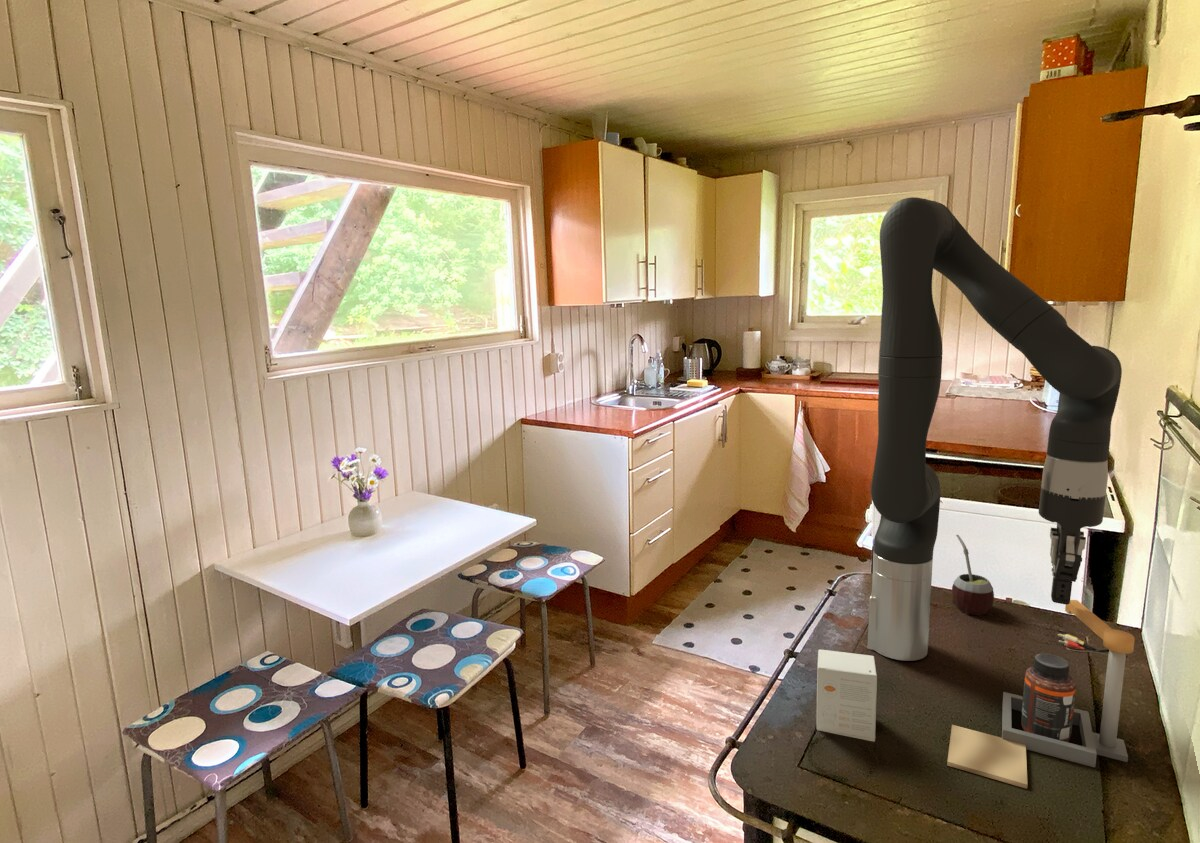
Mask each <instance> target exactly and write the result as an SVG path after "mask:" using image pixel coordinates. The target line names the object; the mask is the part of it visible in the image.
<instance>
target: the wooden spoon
mask: <svg viewBox="0 0 1200 843" xmlns="http://www.w3.org/2000/svg"><path fill="white" fill-rule="evenodd" d="M1064 612H1066V614H1068V615H1074V616H1075V617H1076V618H1078V620H1080V621H1081V622H1082V623H1083V624H1084V625H1086V627H1087V628H1089V629H1090V630H1091V631H1092V632H1094V633H1095V634H1096V635H1097V636H1098V637H1099V638H1100V639H1102V646H1103V647H1104V648H1105V649H1109V650H1111V651H1114V652H1118V653H1124V654H1126V655H1127V654H1132V653H1134V649H1135V648H1134V647H1135V641H1136V640H1135V639H1136V637H1135V636H1134V635H1133V634H1131V633H1129V632H1126V631H1123V630H1120V629H1115V628H1112V627H1111V626H1109V625H1108V624H1107V623H1106V622H1104V620H1102V619H1101V618H1100V617H1098V616H1097V615H1096V614H1095V613H1094V612H1092V611H1091V609H1088V608H1087V607H1086V606H1085V605H1084V604H1082V603H1081V602H1080V601H1079V600H1077V599H1070V603H1069V604H1067V605H1066V604H1065V608H1064Z"/></svg>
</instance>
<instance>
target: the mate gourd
mask: <svg viewBox="0 0 1200 843" xmlns="http://www.w3.org/2000/svg"><path fill="white" fill-rule="evenodd" d="M955 536H956V537H957V540H958V541H959V542H960V545H961V546H962V549H963V550H962V551H963V555H964V557H965V562H966V568H967V573H963V574H959V575H958V576H957V577H956V579H954V581H953V584H952V587H951V588H952V589H951V596H952V604H954V605H955V606H956V608H957V609H958V610H960V611H961V612H963V613H965V615H966V616H969V615H974V616H981V615H990V614H991V612H992V610H993V605H994V598H995V593H994V592H995V591H994V587H993V586H992V583H991V582H990V580H989V579H987V578H986V577H985V576H982V575H978V574H973V573H972V568H971V564H970V563H971V562H970V557H969V549H968V548H967V545H966V544H965V543H964V542H965V541H963V540H962V537H961V536H960V535H959V534H956V535H955Z"/></svg>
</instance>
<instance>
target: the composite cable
mask: <svg viewBox="0 0 1200 843" xmlns="http://www.w3.org/2000/svg"><path fill="white" fill-rule="evenodd" d="M1057 637H1060V638H1062V639H1061V640H1058V643H1060V644H1062V645H1063V646H1065V649H1066V650H1068V651H1070V650H1071V652H1074V651H1075V652H1074V653H1095V654H1101V655H1106V656H1108V654H1109V653H1105V651H1107V650H1109V649H1107V648H1105V649H1097V648H1095V647H1093V646H1090V644H1088V643H1086V642H1085V641H1083V640H1081V639H1079V637H1076V636H1074V635H1071V634H1069V633H1067V634H1066V633H1064V634H1062V633H1057ZM1103 652H1104V653H1103Z"/></svg>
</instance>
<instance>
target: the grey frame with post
mask: <svg viewBox="0 0 1200 843" xmlns="http://www.w3.org/2000/svg"><path fill="white" fill-rule="evenodd" d="M1107 654H1108V655H1107V664H1106V665H1107V666H1106V672H1105V673H1106V674H1105V682H1104V683H1105V684H1104V692H1103V701H1102V712H1101V722H1100V728H1099V729H1100V730H1099V733H1097V732H1094V731H1093V729H1092V724H1091V718H1090V714H1089V711H1087V710H1083V709H1080V708H1079V709H1078V708H1075V707H1074V711H1073V723H1072V726H1073V725H1075V726H1078V727H1079V732H1080V739H1081V745H1079V744H1075V743H1071V742H1064V741H1060V740H1056V739H1052V738H1048V737H1045V736H1041V735H1037V734H1033V733H1029V732H1025V731H1024V730H1021V729H1016V728H1013V727H1012V710H1014V711H1018V712H1020V713H1022V706H1023V696H1022V695H1019V694H1014V693H1010V692H1006V691H1003V693H1002V711H1001V712H1002V713H1001V714H1002V715H1001V716H1002V719H1001V720H1002V721H1001V722H1002V723H1001V724H1002V725H1001V728H1002V731H1001V738H1002V739H1005V740H1008V741H1012V742H1016V743H1020V744H1024V745H1026V751H1032V752H1035V753H1039V754H1042V755H1046V756H1051V757H1055V758H1057V759H1060V760H1061V759H1062V760H1066V761H1069V762H1072V763H1076V764H1079V765H1083V766H1088V767H1091V768H1096V764H1097V755H1098V756H1101V757H1105V758H1109V759H1112V760H1116V761H1120V762H1126V763H1128V761H1129V755H1128V750H1127V747H1126V743H1125V740H1124V739H1121V738H1119V737H1118V738H1117V736H1118V729H1119V719H1120V712H1121V710H1120V709H1121V703H1122V702H1121V701H1122V691H1123V683H1124V676H1125V675H1124V674H1125V667H1126V658H1127V657H1126V655H1127V654H1124V653H1118V652H1114V651H1111V650H1109V652H1108V653H1107Z"/></svg>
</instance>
